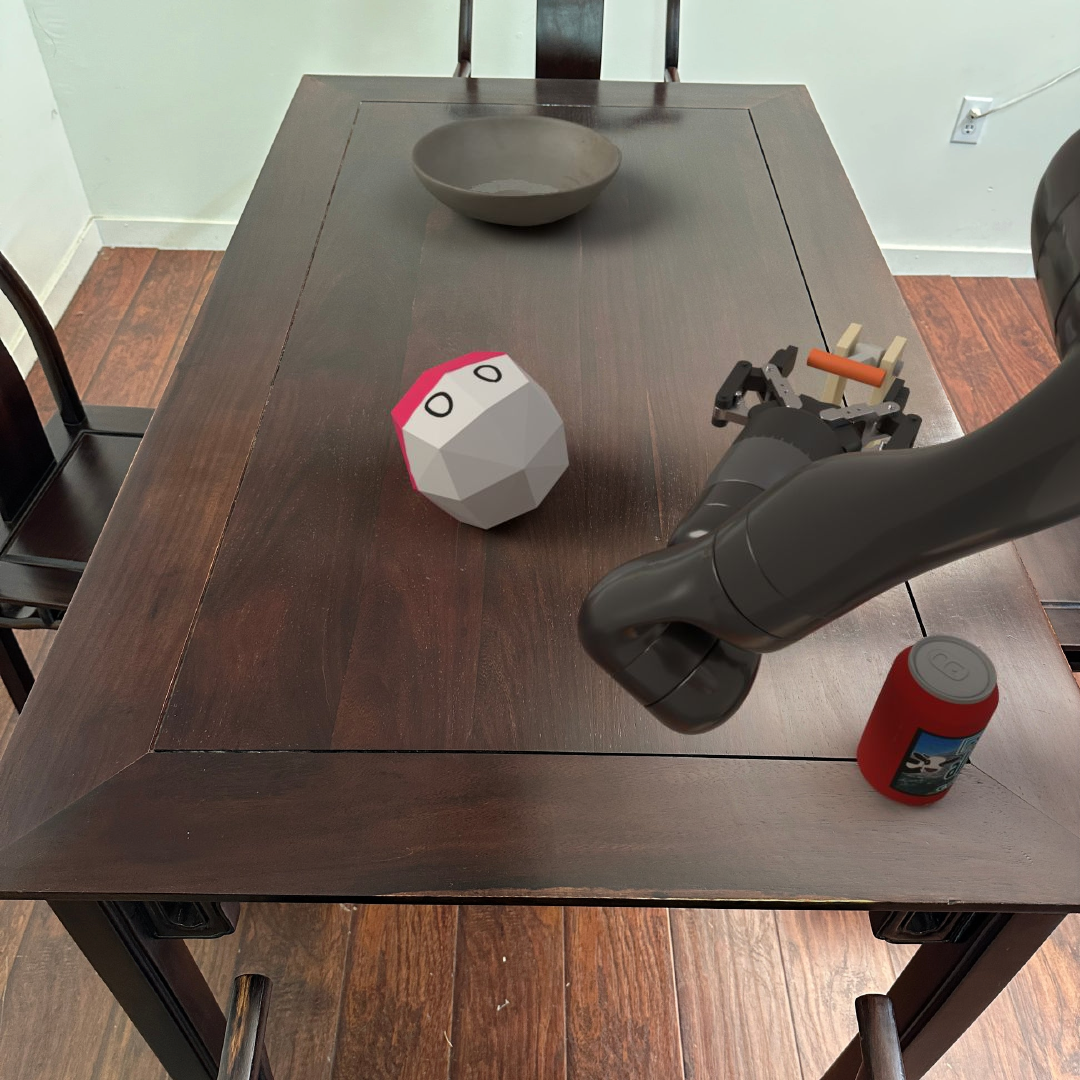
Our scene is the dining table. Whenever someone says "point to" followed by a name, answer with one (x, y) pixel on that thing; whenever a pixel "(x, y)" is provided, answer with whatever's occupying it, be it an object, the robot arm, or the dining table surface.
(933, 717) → the beverage can
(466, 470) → the decorative object
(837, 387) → the bracket
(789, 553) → the robot arm
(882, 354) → the lever
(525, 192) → the bowl
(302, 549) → the dining table surface
